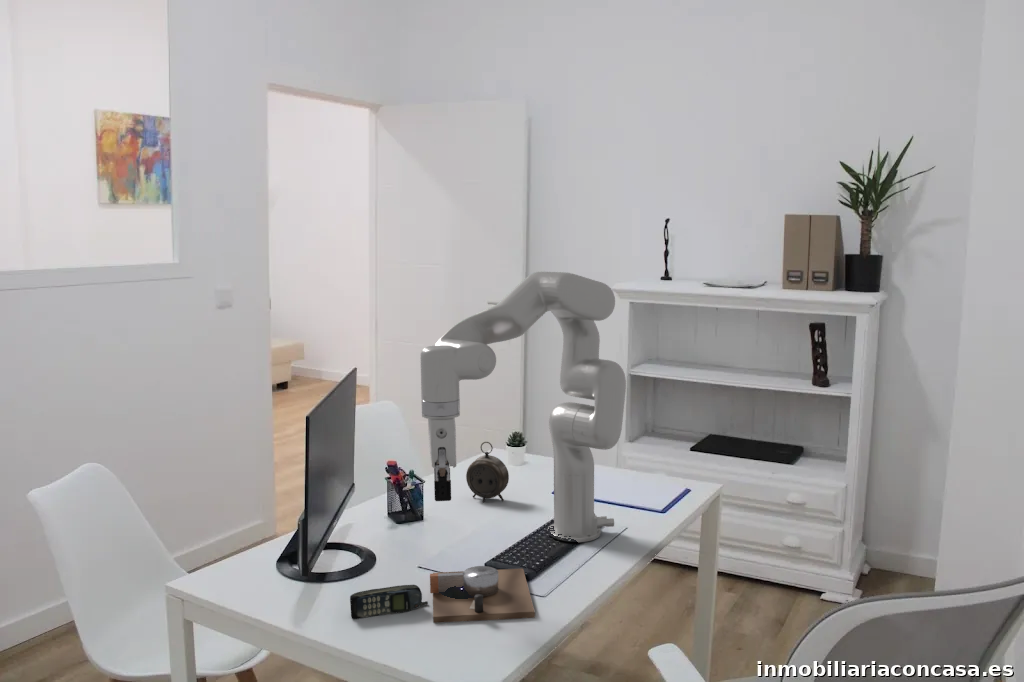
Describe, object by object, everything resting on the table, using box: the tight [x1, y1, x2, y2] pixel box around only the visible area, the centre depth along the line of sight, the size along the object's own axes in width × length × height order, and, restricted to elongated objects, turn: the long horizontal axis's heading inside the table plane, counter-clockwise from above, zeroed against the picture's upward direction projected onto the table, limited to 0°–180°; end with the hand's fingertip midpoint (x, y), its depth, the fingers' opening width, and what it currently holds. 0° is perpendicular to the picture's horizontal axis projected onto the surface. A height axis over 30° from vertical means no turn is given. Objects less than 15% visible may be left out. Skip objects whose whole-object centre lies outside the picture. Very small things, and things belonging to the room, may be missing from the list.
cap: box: [429, 565, 499, 596], centre depth 175 cm, size 14×7×4 cm, turn 95°
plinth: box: [432, 568, 536, 624], centre depth 176 cm, size 19×21×4 cm
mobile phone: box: [349, 584, 429, 620], centre depth 170 cm, size 5×3×15 cm
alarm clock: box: [465, 441, 510, 504], centre depth 236 cm, size 11×5×16 cm, turn 69°
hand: (442, 493), depth 177 cm, fingers open, 8 cm apart
